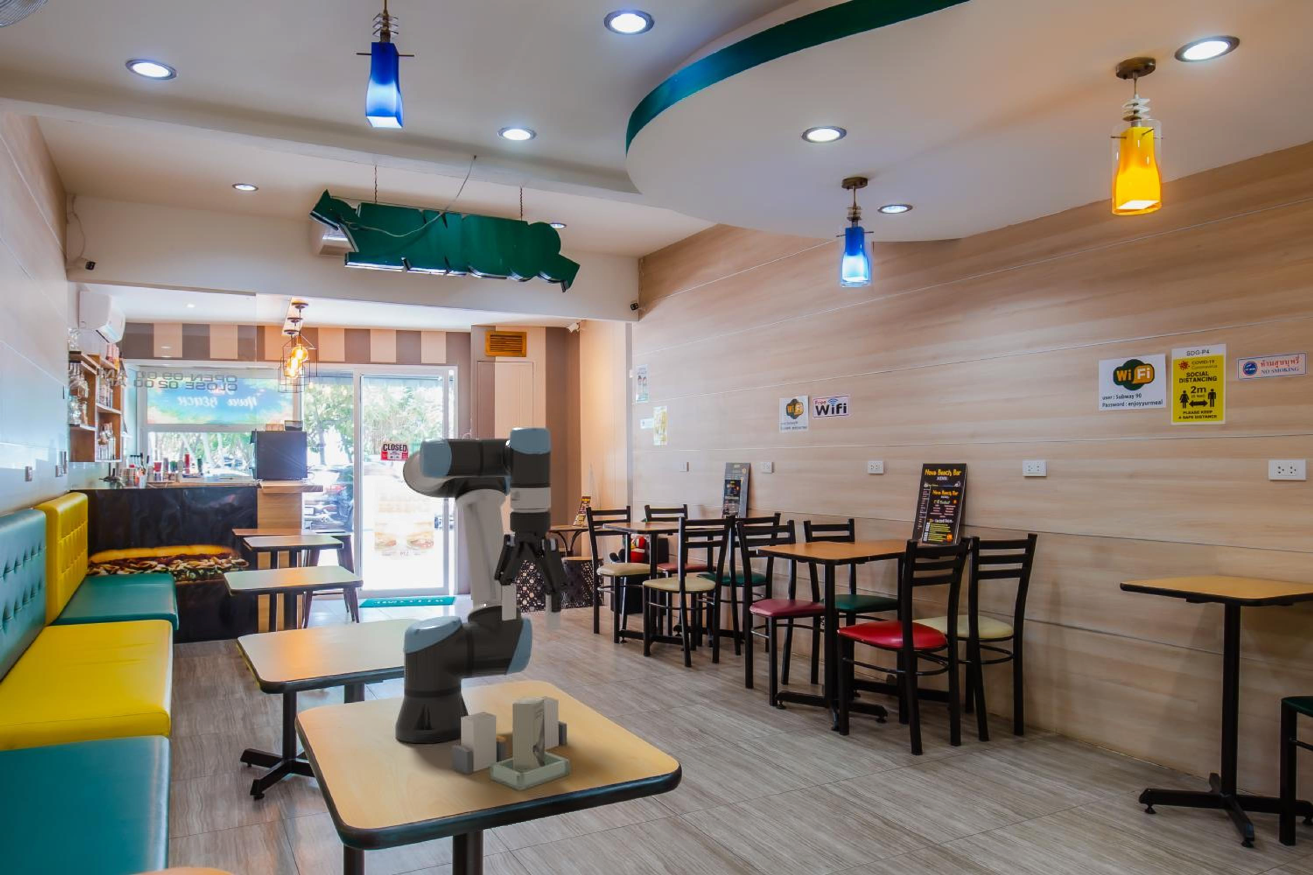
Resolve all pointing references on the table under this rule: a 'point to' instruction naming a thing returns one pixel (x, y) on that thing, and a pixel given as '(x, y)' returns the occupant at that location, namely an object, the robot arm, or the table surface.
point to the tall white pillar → (551, 722)
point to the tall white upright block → (480, 739)
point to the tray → (529, 772)
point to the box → (528, 734)
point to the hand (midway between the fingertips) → (530, 624)
